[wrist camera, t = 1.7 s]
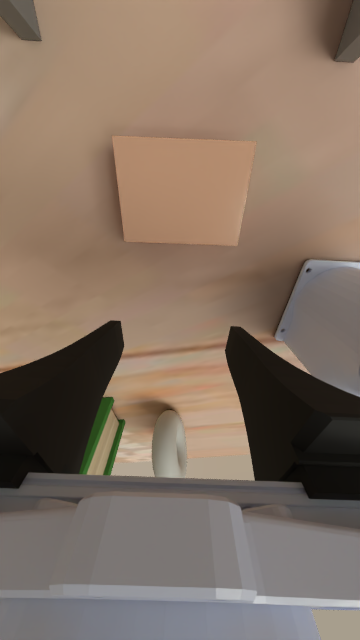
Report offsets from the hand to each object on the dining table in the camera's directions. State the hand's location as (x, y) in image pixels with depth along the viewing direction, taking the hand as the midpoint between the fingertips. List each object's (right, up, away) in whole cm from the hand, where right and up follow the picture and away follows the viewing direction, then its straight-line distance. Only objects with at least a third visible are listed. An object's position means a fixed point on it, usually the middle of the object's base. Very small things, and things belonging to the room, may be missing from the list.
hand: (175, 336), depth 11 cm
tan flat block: (+1, +11, +3) cm, 12 cm away
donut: (-1, -15, +19) cm, 24 cm away
